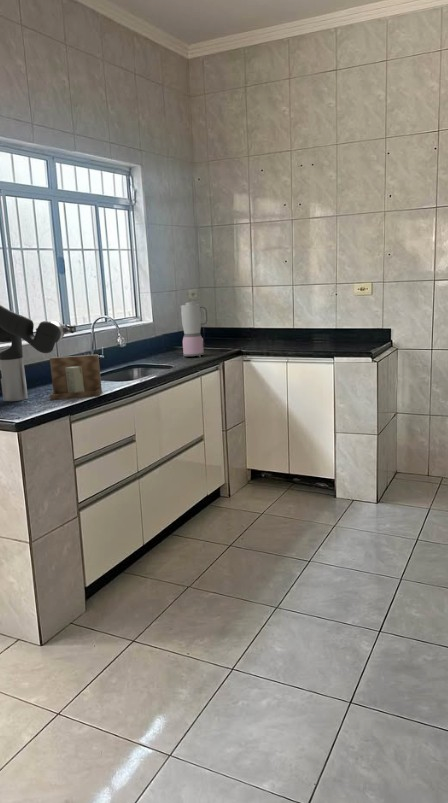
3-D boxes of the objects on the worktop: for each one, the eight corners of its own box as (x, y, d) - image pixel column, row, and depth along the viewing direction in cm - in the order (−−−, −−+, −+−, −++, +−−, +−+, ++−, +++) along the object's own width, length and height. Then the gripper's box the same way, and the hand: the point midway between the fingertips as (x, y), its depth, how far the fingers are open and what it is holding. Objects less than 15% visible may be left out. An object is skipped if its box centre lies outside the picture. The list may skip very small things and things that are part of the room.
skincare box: (85, 395, 257) (82, 366, 255) (76, 397, 254) (73, 368, 252) (76, 394, 262) (73, 365, 259) (67, 395, 259) (64, 367, 256)
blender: (182, 358, 360) (178, 303, 354) (184, 356, 372) (180, 302, 366) (209, 357, 360) (205, 302, 353) (210, 354, 372) (206, 301, 365)
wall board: (50, 399, 251) (46, 361, 248) (54, 395, 262) (50, 357, 259) (100, 396, 254) (96, 357, 251) (101, 391, 265) (98, 354, 262)
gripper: (71, 320, 223) (76, 317, 239) (31, 323, 221) (38, 319, 237) (73, 341, 224) (78, 336, 240) (33, 344, 223) (40, 339, 239)
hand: (58, 328), depth 239 cm, fingers open, 8 cm apart
